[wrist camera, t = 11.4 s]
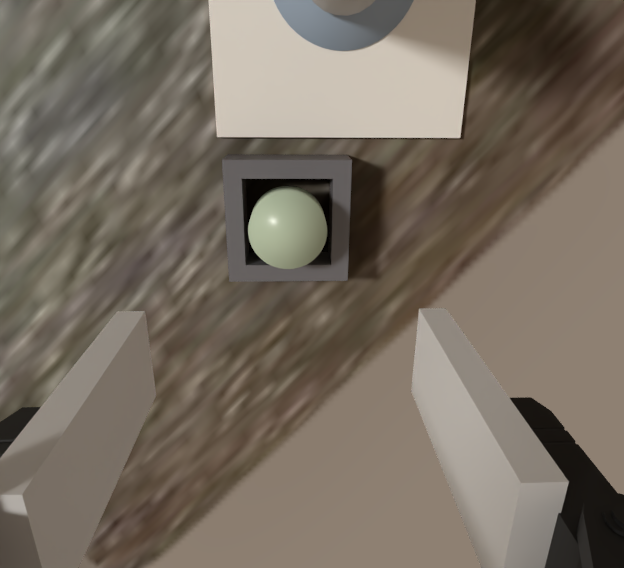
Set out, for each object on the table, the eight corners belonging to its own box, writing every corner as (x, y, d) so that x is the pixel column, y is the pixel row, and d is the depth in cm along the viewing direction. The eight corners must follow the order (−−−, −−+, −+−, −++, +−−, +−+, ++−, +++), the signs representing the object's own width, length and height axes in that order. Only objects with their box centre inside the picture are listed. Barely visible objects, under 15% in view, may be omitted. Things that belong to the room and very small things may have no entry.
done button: (249, 185, 27) (246, 192, 25) (325, 185, 27) (328, 192, 25) (252, 257, 29) (249, 269, 27) (324, 257, 29) (326, 268, 27)
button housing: (227, 154, 28) (222, 159, 26) (347, 154, 29) (352, 160, 26) (233, 267, 31) (229, 281, 29) (343, 267, 31) (347, 280, 29)
